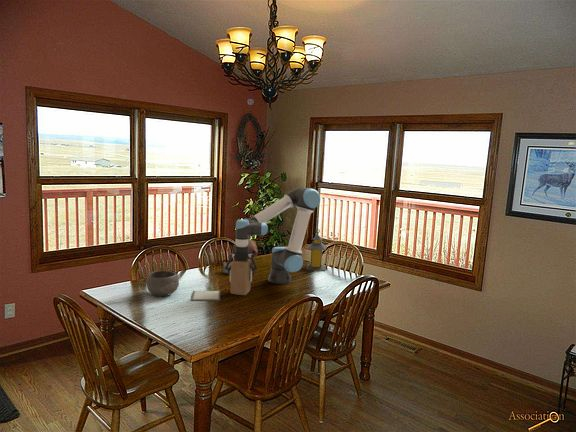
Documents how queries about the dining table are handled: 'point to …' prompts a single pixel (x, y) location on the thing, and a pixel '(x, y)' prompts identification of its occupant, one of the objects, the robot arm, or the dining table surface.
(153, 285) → the bowl
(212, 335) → the dining table surface
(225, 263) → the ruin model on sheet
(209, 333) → the dining table surface
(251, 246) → the vase
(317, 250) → the lantern
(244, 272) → the wooden block
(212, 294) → the mat
